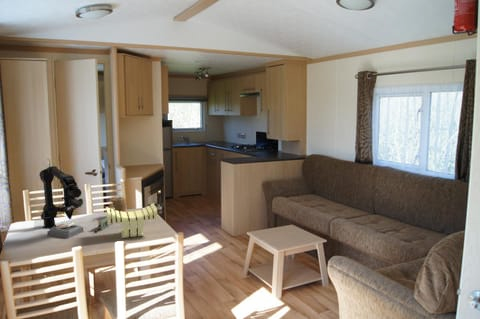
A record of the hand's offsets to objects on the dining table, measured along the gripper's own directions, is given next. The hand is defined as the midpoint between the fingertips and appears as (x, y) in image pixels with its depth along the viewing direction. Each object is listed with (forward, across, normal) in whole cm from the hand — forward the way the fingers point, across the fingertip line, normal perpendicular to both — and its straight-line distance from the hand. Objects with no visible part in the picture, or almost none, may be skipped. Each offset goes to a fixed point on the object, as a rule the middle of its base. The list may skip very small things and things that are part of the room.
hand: (70, 219), depth 259 cm
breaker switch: (+5, 0, +4) cm, 6 cm away
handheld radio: (+11, +19, -13) cm, 25 cm away
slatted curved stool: (+10, +11, -39) cm, 41 cm away
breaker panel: (+10, 0, +4) cm, 11 cm away
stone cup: (+10, +43, -10) cm, 45 cm away
